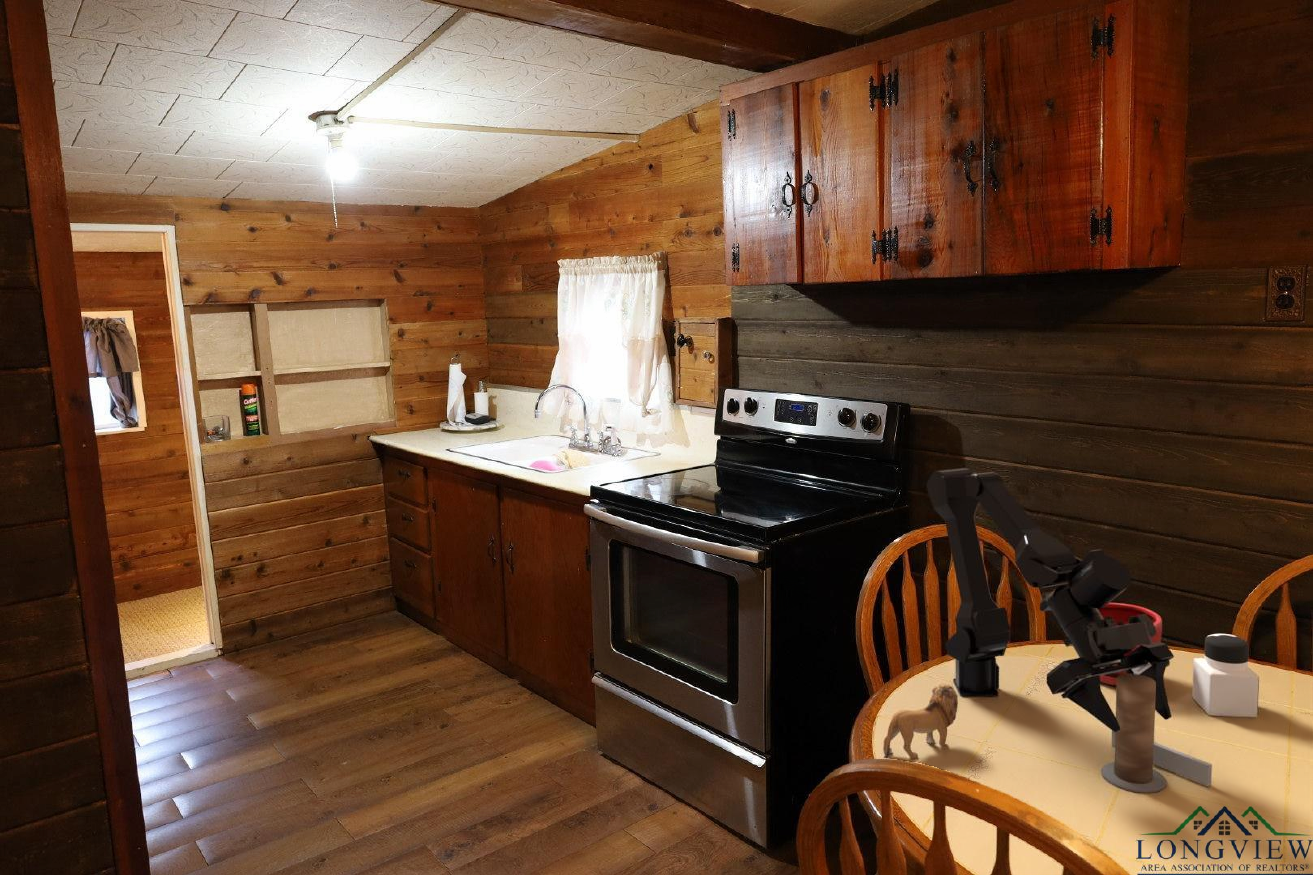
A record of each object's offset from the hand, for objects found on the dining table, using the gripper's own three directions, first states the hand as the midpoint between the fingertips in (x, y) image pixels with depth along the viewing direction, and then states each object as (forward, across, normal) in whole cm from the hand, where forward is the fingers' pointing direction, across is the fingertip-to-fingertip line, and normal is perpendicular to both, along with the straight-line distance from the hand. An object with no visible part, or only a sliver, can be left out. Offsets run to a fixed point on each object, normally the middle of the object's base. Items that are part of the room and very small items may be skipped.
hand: (1143, 724), depth 122 cm
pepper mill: (+5, 0, +7) cm, 8 cm away
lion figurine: (-9, -21, +21) cm, 31 cm away
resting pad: (+5, 0, +7) cm, 9 cm away
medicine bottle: (-2, +31, +15) cm, 35 cm away
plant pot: (-14, +26, +26) cm, 40 cm away
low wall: (+4, +6, +8) cm, 11 cm away
